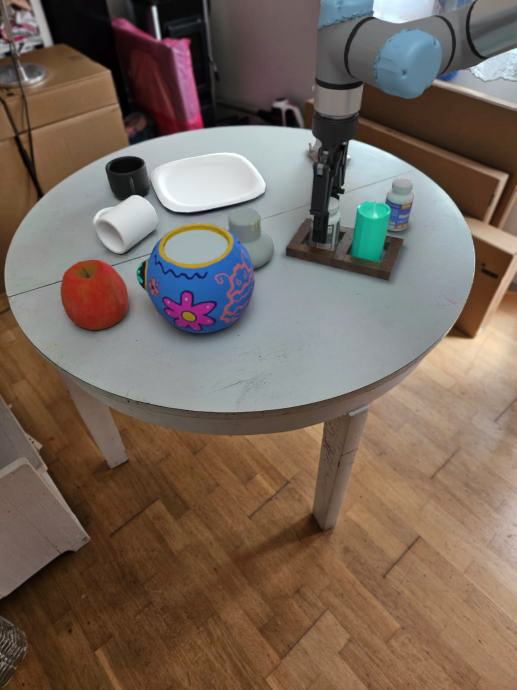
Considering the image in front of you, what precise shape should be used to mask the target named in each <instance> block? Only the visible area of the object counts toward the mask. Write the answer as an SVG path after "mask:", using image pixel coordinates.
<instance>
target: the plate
mask: <svg viewBox="0 0 517 690" xmlns="http://www.w3.org/2000/svg"><path fill="white" fill-rule="evenodd" d="M149 176H150V181H151V182H150V183H151V186H152V188H153V190H154V192H155V195H156V197H157V199H158V201H160V203H161V204H162V206H163V207H164V208H166V209H167V210H169V211H171V212H174V213H183V214H190V213H191V214H192V213H197V212H198V213H199V212H205V211H206V212H207V211H211V210H216V209H221V208H225V207H229V206H230V207H231V206H234V205H238V204H242V203H245V202H249V201H252V200H255V199H257V198H258V197H260V196H262V195H263V194H265V192H266V188H267V184H266V182H265V180H264V178H263V176H262V175H261V174H260V172H259V171H258V169H257V168H256V167H255V166H254V165H253V164H252V162H251V161H250V160H248V159H247V158H246V157H245V156H243V155H240V154H237V153H235V152H217V153H215V152H214V153H208V154H202V155H197V156H191V157H187V158H186V157H185V158H181V159H177V160H173V161H169V162H165V163H163V164H161V165H159V166H157V167H155V168H153V169H152V172H151V173H150V175H149Z"/></svg>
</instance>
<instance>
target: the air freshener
mask: <svg viewBox="0 0 517 690" xmlns="http://www.w3.org/2000/svg"><path fill="white" fill-rule="evenodd" d="M227 218H228V229H227V230H228V231H229V232H231V233H232V234H234V235H235V236H236V237H237V238H238V239H239V241H240V242H241V243H242V244H243V246H244V247H245V248H246V250H247V251H248V253H249V255H250V258H251V261H252V265H253V270H255V269H257V268H261V267H262V266H265V264H267V263H268V262H269V260H271V258H272V257H273V255H274V251H275V243H274V239H273V237H272V236H271V234H270V233H268V232H267V230H264V229H263V228H262V227H261V226H262V225H261V223H262V222H261V214H260V212H258V210H256V209H254V208H252V207H239V208H236V209H234V210H232V211H231V212H230V213H229V214H228V217H227Z"/></svg>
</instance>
